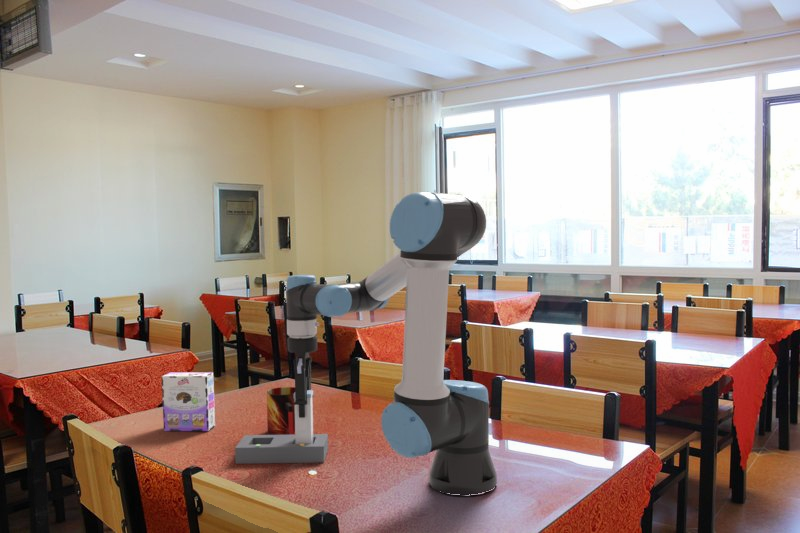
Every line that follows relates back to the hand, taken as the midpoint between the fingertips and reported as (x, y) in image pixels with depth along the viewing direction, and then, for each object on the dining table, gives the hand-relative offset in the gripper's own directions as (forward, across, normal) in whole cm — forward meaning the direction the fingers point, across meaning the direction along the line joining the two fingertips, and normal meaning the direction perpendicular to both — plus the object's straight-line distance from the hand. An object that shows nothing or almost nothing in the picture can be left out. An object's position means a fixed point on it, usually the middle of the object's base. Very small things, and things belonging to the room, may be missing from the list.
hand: (304, 426), depth 163 cm
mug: (+8, +19, +7) cm, 22 cm away
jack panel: (+8, 0, +6) cm, 9 cm away
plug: (+5, 0, 0) cm, 5 cm away
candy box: (+8, +25, +38) cm, 46 cm away
